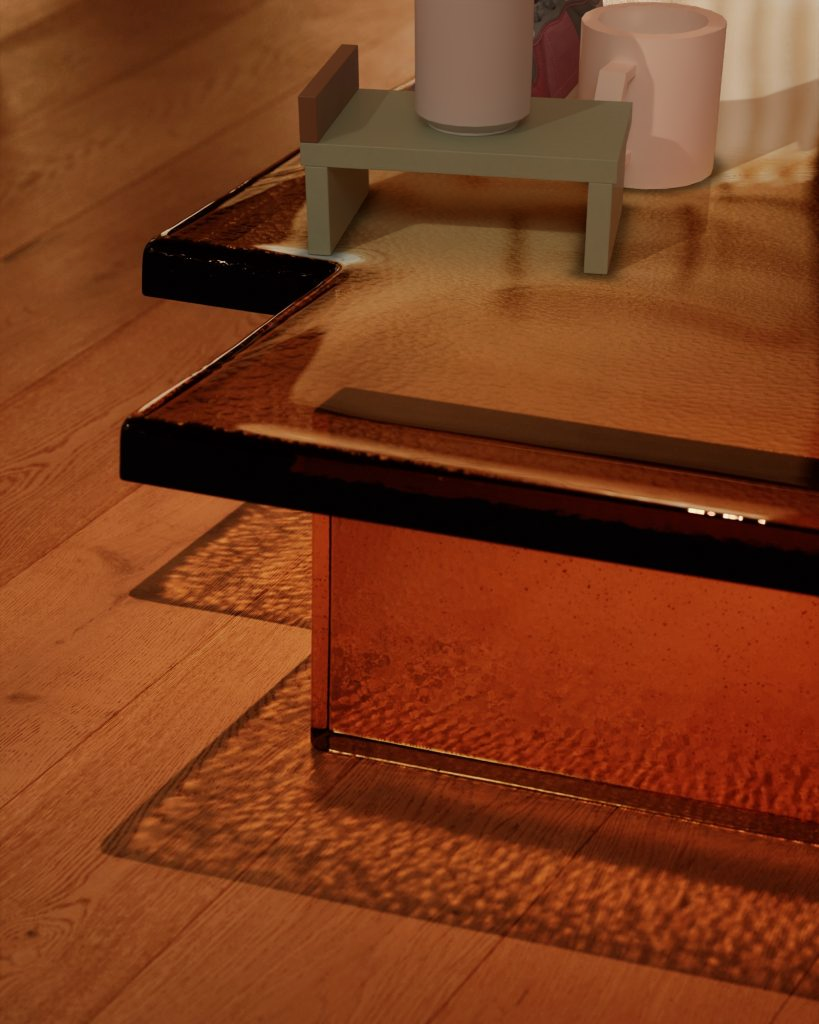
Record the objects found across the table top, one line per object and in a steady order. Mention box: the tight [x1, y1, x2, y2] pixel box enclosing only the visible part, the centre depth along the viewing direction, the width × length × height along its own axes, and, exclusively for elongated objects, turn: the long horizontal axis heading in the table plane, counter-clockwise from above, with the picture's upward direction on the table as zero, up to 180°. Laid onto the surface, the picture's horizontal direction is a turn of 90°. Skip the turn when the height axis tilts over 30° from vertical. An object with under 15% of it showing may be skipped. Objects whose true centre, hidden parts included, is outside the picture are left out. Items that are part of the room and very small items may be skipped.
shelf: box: [297, 43, 633, 276], centre depth 105 cm, size 20×12×10 cm, turn 79°
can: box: [413, 0, 534, 136], centre depth 101 cm, size 8×8×12 cm
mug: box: [578, 1, 728, 190], centre depth 115 cm, size 14×10×11 cm
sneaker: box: [406, 0, 604, 99], centre depth 126 cm, size 10×28×12 cm, turn 153°
